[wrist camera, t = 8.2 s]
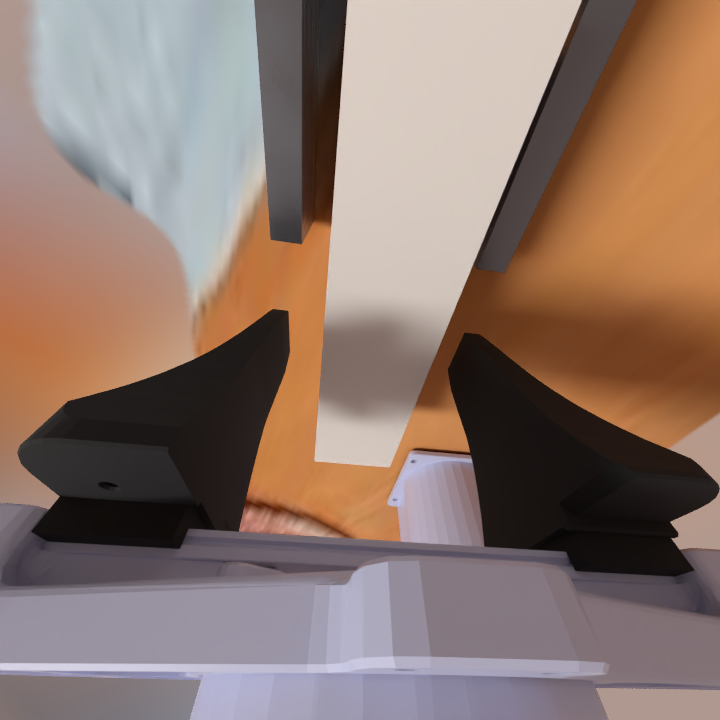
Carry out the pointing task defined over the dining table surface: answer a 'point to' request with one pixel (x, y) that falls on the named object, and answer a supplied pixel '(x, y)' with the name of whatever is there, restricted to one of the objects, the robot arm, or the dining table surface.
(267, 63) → the u-shaped bracket
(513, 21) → the rail
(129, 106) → the dining table surface
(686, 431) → the dining table surface
